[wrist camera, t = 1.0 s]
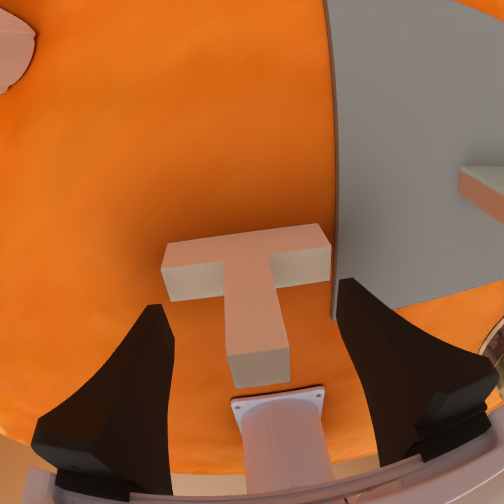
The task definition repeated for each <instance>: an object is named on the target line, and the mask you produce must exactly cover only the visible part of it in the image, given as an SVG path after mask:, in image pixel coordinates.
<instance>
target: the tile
mask: <svg viewBox="0 0 504 504" xmlns="http://www.w3.org/2000/svg"><path fill="white" fill-rule="evenodd" d="M458 193H459V194H461V195H462V196H464V197H465V198H467V199H468V200H470V201H471V202H473V203H474V204H475V205H477V206H478V207H480V208H481V209H482V210H484V211H485V212H487V213H488V214H489V215H491V216H492V217H493V218H495V219H496V220H497V221H499V222H500V223H501V224H503V225H504V167H501V166H461V171H460V179H459V186H458Z"/></svg>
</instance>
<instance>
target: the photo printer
mask: <svg viewBox="0 0 504 504" xmlns="http://www.w3.org/2000/svg"><path fill="white" fill-rule="evenodd" d="M34 36H35V32H34V30H33V29H32V28H31V27H30V26H29V25H27V24H26V23H25V22H24V21H22V20H21V19H19V18H17V17H16V16H14V15H13V14H11V13H9V12H7V11H5V10H3V9H1V8H0V94H2V93H4V92H6V91H7V89H8V87H9V86H10V85H12V84H14V83H15V82H16V81H17V80H18V79H19V78H20V77H21V76H22V75H23V73H24V72H25V70H26V69H27V67H28V65H29V63H30V60H31V58H32V55H33V51H34V45H35V41H34V39H33V38H34Z"/></svg>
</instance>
